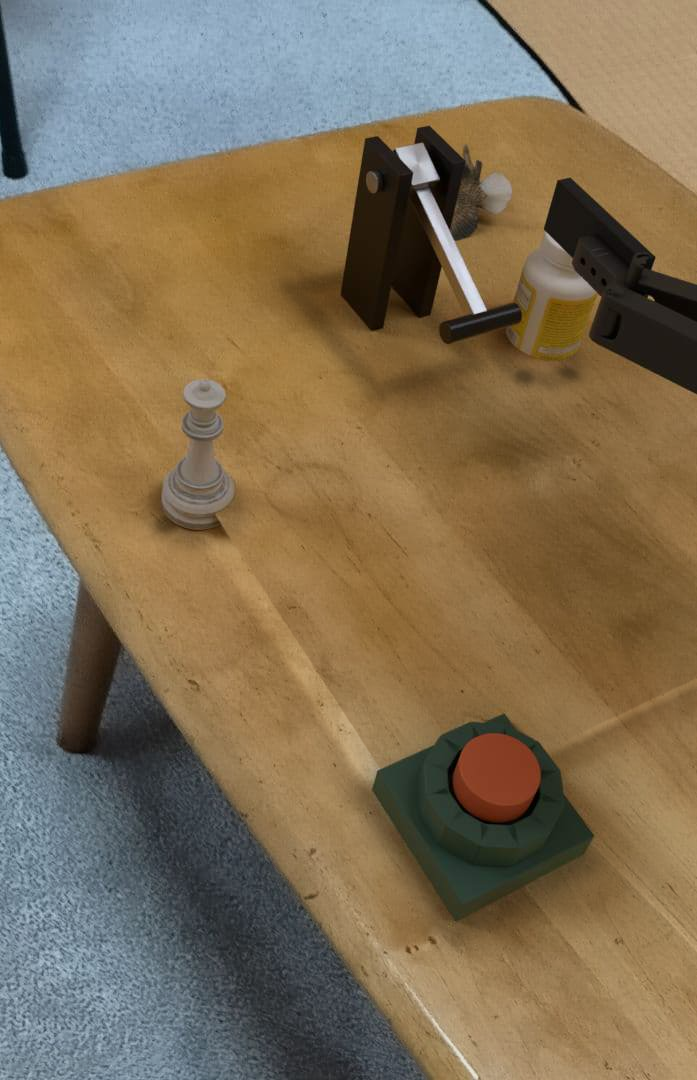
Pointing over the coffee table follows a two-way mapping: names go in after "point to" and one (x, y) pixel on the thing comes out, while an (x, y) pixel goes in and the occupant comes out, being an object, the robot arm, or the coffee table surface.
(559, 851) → the button base
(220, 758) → the coffee table surface
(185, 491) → the chess piece
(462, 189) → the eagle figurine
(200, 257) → the coffee table surface
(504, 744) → the button
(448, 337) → the press lever
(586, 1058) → the coffee table surface
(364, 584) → the coffee table surface
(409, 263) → the press bracket
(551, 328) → the supplement bottle
